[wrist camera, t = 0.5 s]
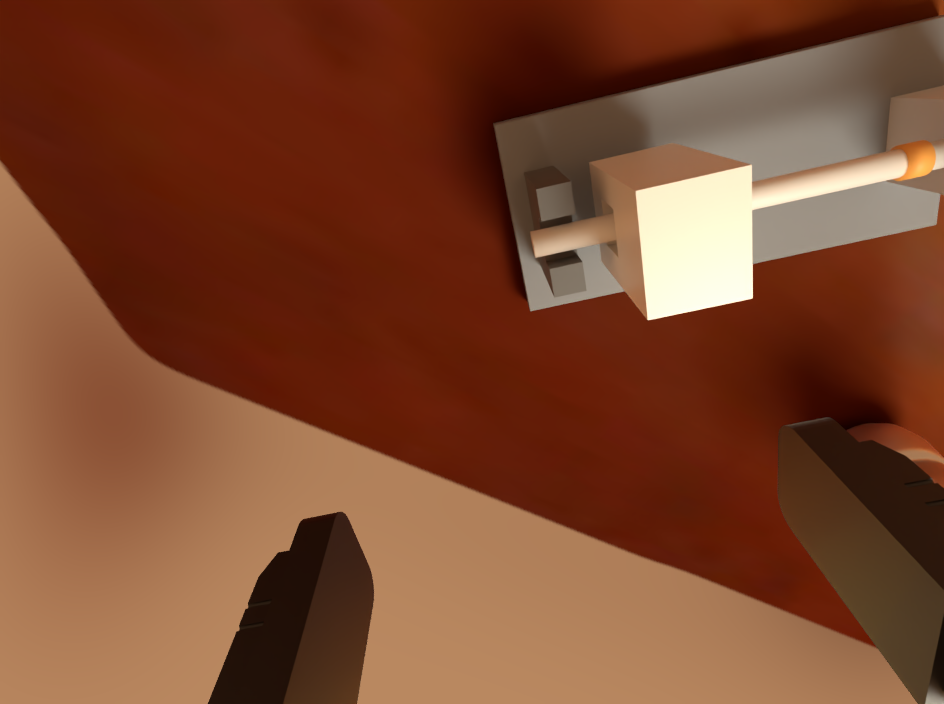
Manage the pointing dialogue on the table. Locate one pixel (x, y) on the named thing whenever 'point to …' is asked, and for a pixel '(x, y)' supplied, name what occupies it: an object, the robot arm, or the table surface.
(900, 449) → the plastic bottle
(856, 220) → the rod slider fixture
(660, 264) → the sleeve
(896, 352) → the table surface
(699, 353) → the table surface
